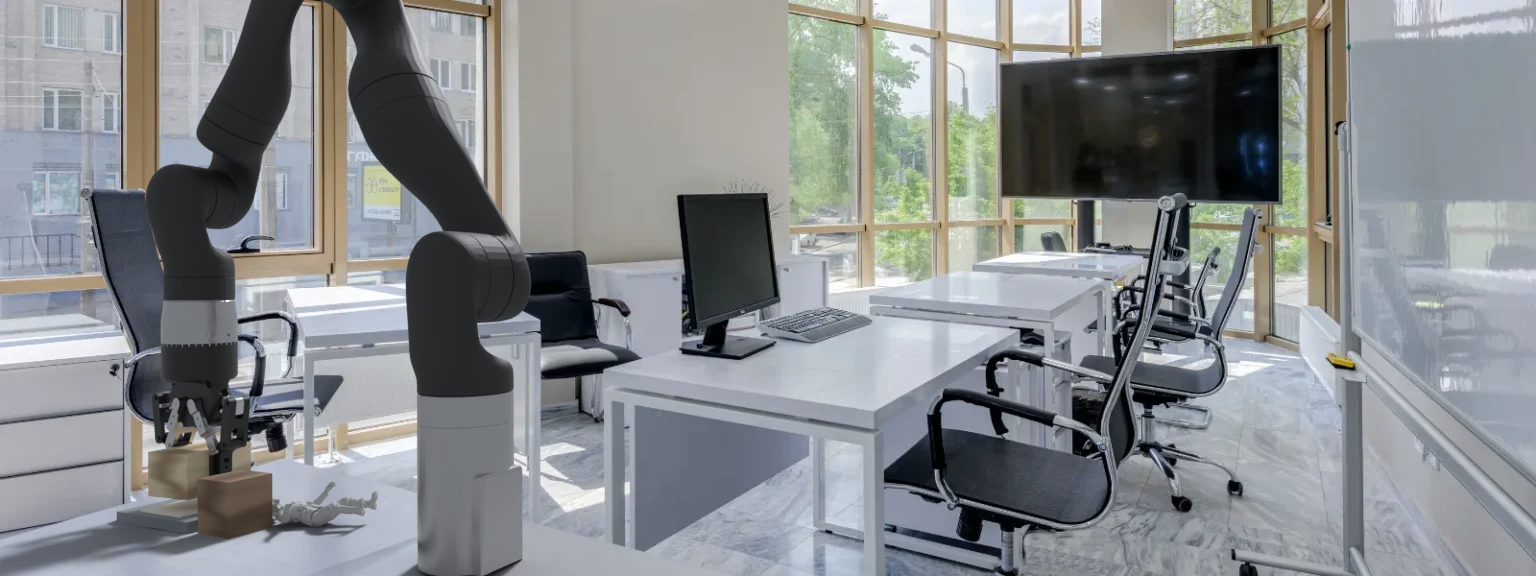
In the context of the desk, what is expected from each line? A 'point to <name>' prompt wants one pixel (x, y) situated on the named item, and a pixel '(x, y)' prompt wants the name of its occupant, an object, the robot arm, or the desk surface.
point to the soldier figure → (322, 509)
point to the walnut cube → (234, 503)
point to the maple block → (186, 469)
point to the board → (166, 515)
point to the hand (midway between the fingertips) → (200, 483)
